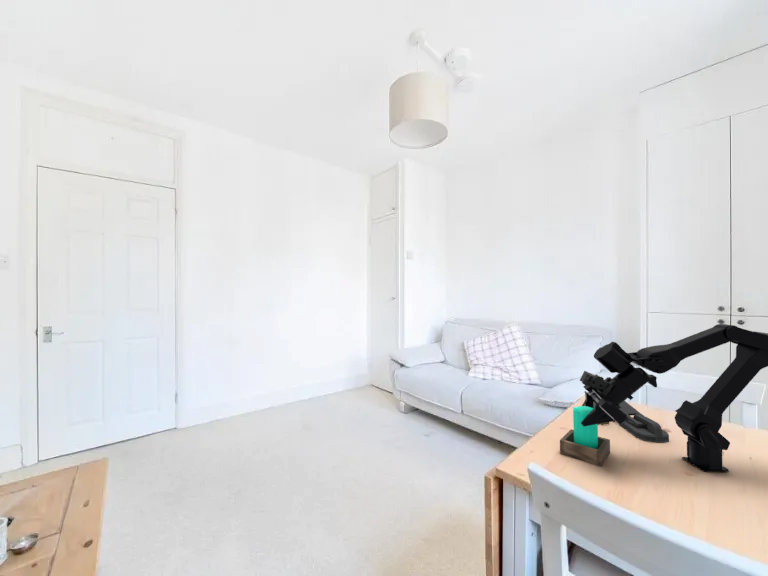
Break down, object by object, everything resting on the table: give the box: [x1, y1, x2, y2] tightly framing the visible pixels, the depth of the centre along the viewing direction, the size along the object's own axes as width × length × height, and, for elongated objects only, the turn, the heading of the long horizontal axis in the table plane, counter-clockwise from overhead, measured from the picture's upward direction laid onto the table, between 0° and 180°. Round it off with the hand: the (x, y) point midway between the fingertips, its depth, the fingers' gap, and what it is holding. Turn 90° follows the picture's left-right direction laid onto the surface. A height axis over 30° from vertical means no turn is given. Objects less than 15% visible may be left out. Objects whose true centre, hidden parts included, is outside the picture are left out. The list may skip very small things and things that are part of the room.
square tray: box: [559, 428, 611, 467], centre depth 94 cm, size 10×10×4 cm
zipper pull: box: [617, 400, 670, 444], centre depth 112 cm, size 9×7×25 cm
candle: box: [572, 405, 599, 450], centre depth 94 cm, size 6×6×12 cm
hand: (579, 420), depth 94 cm, fingers closed on candle, 5 cm apart
